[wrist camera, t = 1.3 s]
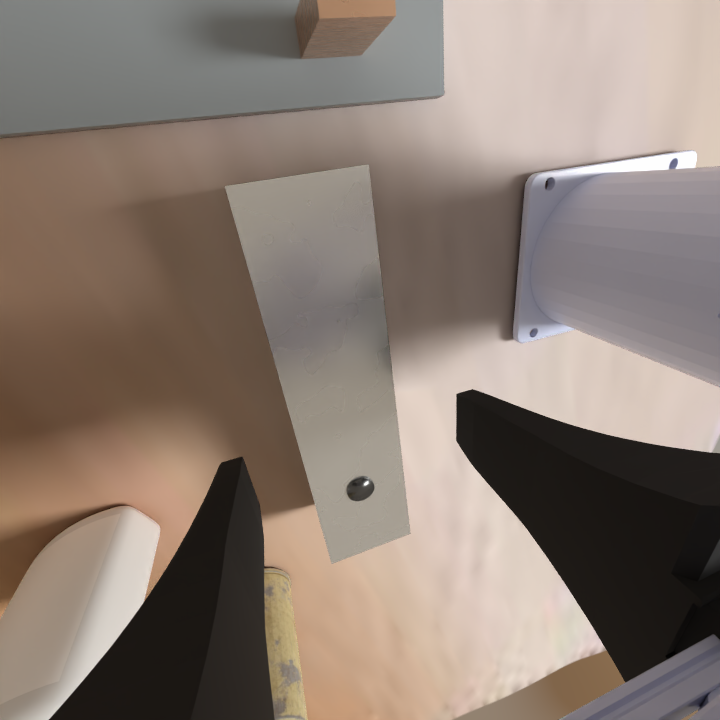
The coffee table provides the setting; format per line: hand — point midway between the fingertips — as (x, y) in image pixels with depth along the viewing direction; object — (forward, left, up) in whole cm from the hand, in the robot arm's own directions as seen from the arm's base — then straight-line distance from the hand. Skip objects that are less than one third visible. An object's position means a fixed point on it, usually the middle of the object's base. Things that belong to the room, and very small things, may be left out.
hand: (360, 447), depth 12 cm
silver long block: (0, 0, -6) cm, 6 cm away
